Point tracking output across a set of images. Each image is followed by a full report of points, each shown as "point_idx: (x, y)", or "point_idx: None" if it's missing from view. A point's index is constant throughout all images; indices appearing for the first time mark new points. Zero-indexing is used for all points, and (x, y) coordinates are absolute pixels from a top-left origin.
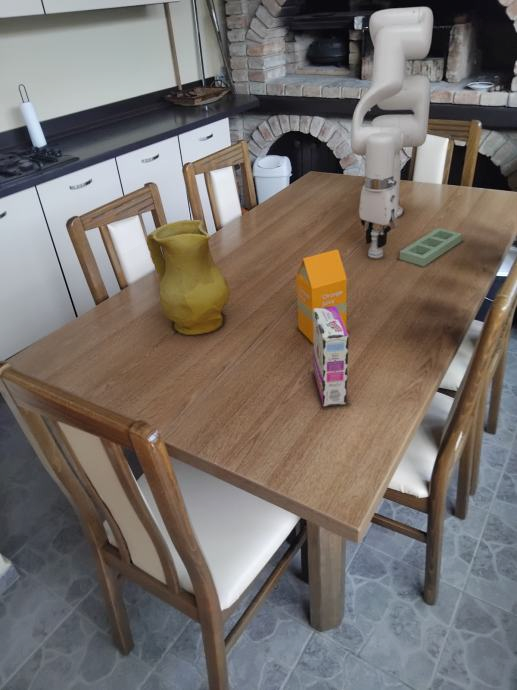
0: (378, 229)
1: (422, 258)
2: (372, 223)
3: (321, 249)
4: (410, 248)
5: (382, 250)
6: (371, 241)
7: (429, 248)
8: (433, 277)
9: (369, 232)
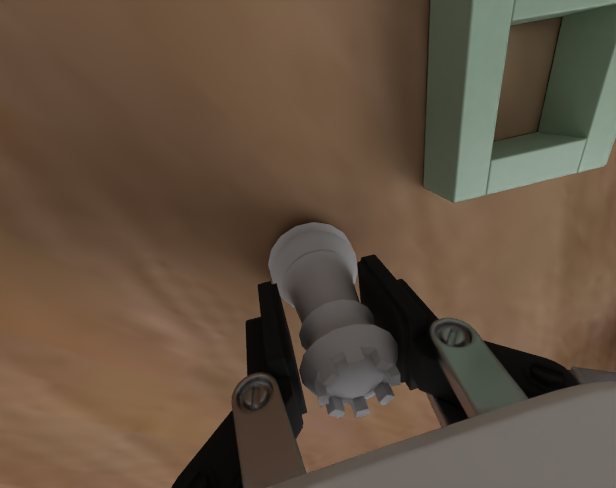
0: (359, 364)
1: (590, 168)
2: (294, 439)
3: (52, 407)
4: (493, 118)
5: (350, 252)
6: (283, 309)
7: (611, 3)
8: (613, 201)
9: (303, 399)
